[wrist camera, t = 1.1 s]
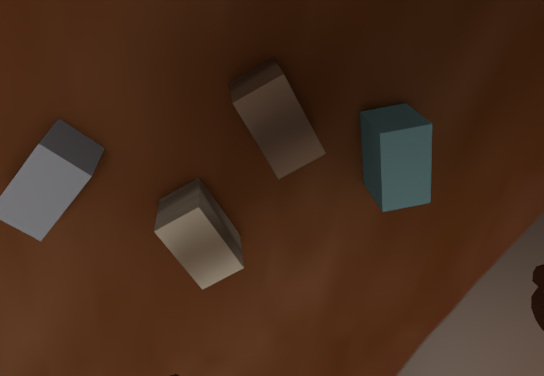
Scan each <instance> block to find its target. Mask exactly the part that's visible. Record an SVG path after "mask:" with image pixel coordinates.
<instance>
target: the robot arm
mask: <svg viewBox="0 0 544 376" xmlns="http://www.w3.org/2000/svg"><path fill="white" fill-rule="evenodd" d="M532 281H533V282H534V283H535V284H536V285H537V286H538V288H537V289H536V291H535V292H534V294H533V295H532V298H531V299H532V300H531V301H532V303H531V306H532V307H531V308H532V311H533V314H534V317H535V319H536V321H537V322H538V324H539V325H540V327H541V328H542V330H543V331H544V264H543V265H540V266H537V267H536V268H535V270H534V272H533V280H532ZM171 376H179V375H177V374H175V375H171Z"/></svg>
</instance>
